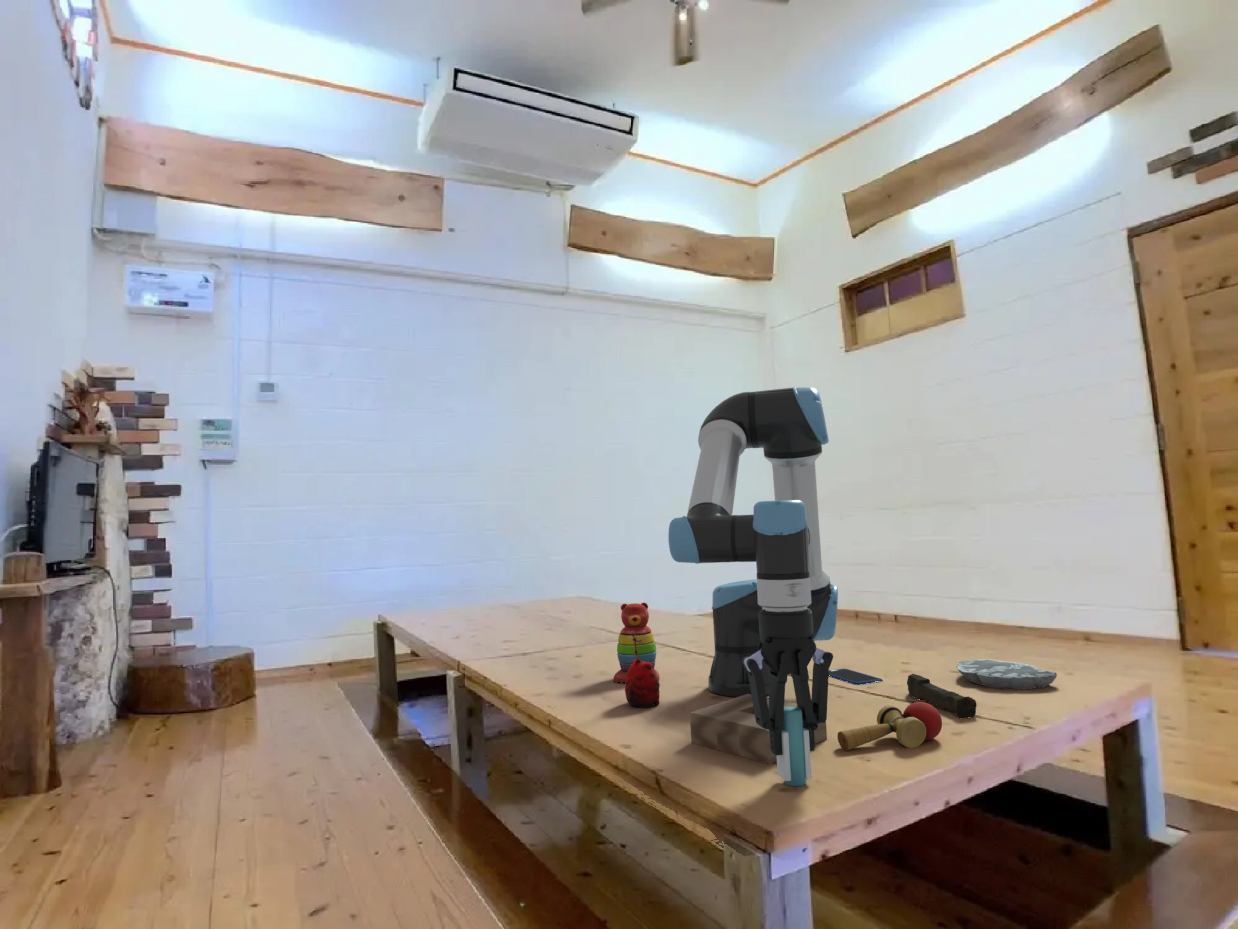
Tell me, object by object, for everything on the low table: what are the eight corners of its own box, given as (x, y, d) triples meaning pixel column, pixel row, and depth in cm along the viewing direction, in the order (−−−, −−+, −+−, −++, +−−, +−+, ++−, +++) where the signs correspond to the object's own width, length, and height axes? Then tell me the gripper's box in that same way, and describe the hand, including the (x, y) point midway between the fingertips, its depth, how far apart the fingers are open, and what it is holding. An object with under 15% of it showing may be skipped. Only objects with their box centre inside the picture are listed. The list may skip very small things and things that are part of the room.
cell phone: (844, 671, 170) (844, 668, 170) (884, 683, 157) (884, 679, 157) (818, 674, 168) (818, 671, 168) (857, 686, 155) (857, 683, 155)
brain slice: (935, 679, 158) (934, 665, 159) (989, 670, 165) (988, 657, 165) (1015, 698, 141) (1013, 682, 141) (1072, 687, 147) (1071, 672, 147)
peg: (780, 782, 100) (776, 710, 101) (792, 776, 102) (788, 706, 103) (798, 788, 98) (794, 714, 99) (810, 782, 100) (806, 709, 101)
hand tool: (978, 719, 128) (977, 692, 128) (958, 720, 127) (956, 694, 127) (922, 694, 146) (920, 671, 147) (903, 695, 146) (902, 672, 146)
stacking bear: (612, 683, 165) (609, 606, 167) (618, 674, 175) (615, 601, 177) (658, 683, 164) (655, 605, 165) (661, 673, 174) (658, 600, 175)
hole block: (691, 742, 120) (689, 712, 120) (749, 721, 131) (748, 693, 131) (770, 764, 108) (768, 730, 108) (827, 739, 119) (825, 708, 119)
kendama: (862, 768, 109) (959, 737, 114) (850, 725, 110) (946, 697, 115) (836, 761, 116) (928, 732, 121) (825, 721, 117) (916, 694, 122)
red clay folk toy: (667, 703, 146) (664, 629, 147) (645, 711, 140) (642, 634, 141) (639, 698, 151) (636, 626, 152) (617, 706, 145) (614, 631, 147)
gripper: (744, 614, 97) (753, 793, 95) (847, 607, 100) (858, 779, 98) (724, 608, 104) (732, 773, 102) (821, 601, 107) (830, 761, 106)
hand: (794, 776), depth 100 cm, fingers closed on peg, 2 cm apart
